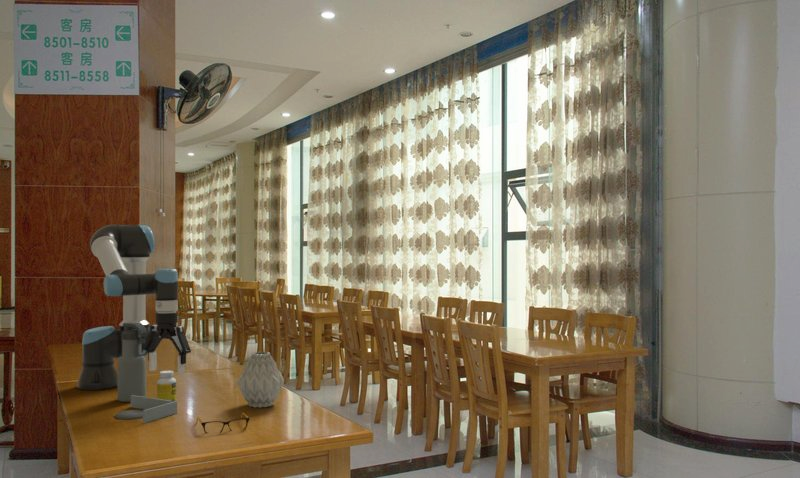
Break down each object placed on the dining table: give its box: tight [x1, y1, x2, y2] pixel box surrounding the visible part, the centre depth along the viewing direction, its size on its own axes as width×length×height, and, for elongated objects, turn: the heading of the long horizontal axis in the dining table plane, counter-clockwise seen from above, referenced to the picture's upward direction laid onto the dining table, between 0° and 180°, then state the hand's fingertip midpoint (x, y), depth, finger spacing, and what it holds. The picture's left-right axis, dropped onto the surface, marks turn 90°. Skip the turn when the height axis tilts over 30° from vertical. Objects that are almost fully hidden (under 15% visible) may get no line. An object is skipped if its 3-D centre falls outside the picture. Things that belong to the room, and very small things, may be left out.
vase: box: [237, 351, 285, 409], centre depth 240 cm, size 16×16×18 cm
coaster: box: [114, 409, 144, 420], centre depth 226 cm, size 11×11×1 cm
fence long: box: [130, 395, 173, 410], centre depth 233 cm, size 19×1×4 cm, turn 64°
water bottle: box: [117, 322, 148, 403], centre depth 249 cm, size 10×10×28 cm
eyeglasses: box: [196, 412, 250, 434], centre depth 213 cm, size 14×14×4 cm
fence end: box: [142, 400, 178, 424], centre depth 223 cm, size 1×14×4 cm, turn 153°
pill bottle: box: [156, 370, 177, 402], centre depth 241 cm, size 6×6×12 cm
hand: (166, 372), depth 241 cm, fingers open, 13 cm apart
